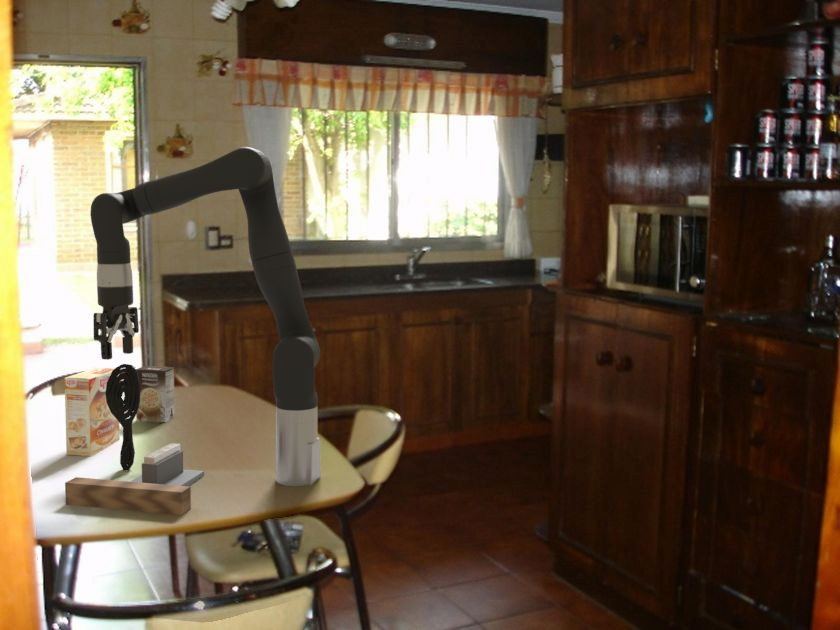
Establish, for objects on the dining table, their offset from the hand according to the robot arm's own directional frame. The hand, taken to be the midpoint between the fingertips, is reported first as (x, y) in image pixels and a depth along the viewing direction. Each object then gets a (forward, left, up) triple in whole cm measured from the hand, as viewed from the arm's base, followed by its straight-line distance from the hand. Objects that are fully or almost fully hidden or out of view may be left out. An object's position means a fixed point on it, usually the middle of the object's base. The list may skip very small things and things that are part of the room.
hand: (117, 356), depth 209 cm
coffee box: (+18, -50, -28) cm, 60 cm away
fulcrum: (-12, +2, -28) cm, 31 cm away
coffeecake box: (+20, -22, -28) cm, 41 cm away
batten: (-12, +17, -29) cm, 35 cm away
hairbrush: (+2, -7, -28) cm, 29 cm away
